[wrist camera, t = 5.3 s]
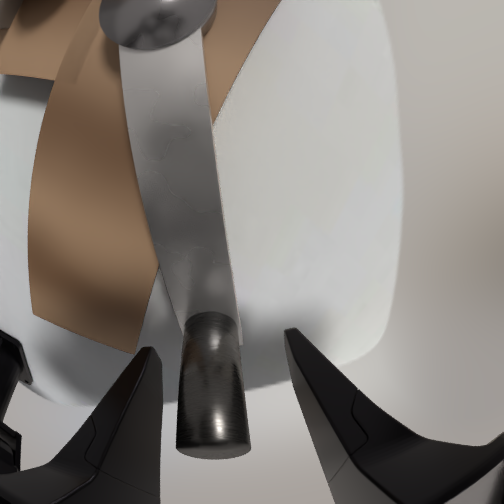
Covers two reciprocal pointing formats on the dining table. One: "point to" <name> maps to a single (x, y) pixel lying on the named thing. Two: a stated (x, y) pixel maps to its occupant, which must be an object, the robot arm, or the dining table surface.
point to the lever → (184, 209)
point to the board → (98, 161)
